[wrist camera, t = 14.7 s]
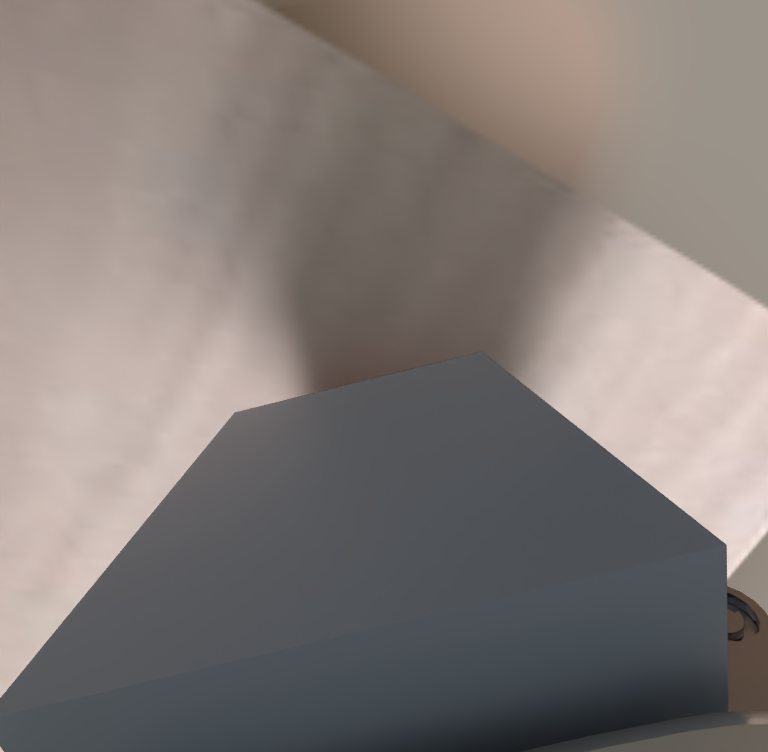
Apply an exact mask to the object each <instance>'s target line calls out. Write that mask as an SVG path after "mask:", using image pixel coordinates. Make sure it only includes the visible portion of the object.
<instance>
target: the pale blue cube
mask: <svg viewBox="0 0 768 752" xmlns="http://www.w3.org/2000/svg"><path fill="white" fill-rule="evenodd" d="M723 712H728V634H727V547H726V544H725V543H723V542H722V541H721V540H720V539H718V538H717V537H716V536H715V535H713V534H712V533H711V532H710V531H708V530H707V529H706V528H704V527H703V526H702V525H701V524H699V523H698V522H697V521H696V520H694V519H693V518H692V517H691V516H689V515H688V514H687V513H685V512H684V511H683V510H682V509H680V508H679V507H678V506H677V505H675V504H674V503H673V502H672V501H670V500H669V499H668V498H667V497H665V496H664V495H663V494H661V493H660V492H659V491H658V490H656V489H655V488H654V487H653V486H651V485H650V484H649V483H648V482H646V481H645V480H644V479H642V478H641V477H640V476H639V475H637V474H636V473H635V472H634V471H632V470H631V469H630V468H629V467H627V466H626V465H625V464H624V463H622V462H621V461H620V460H618V459H617V458H616V457H615V456H613V455H612V454H611V453H610V452H608V451H607V450H606V449H605V448H603V447H602V446H601V445H600V444H598V443H597V442H596V441H594V440H593V439H592V438H591V437H589V436H588V435H587V434H586V433H584V432H583V431H582V430H581V429H579V428H578V427H577V426H575V425H574V424H573V423H572V422H570V421H569V420H568V419H567V418H565V417H564V416H563V415H562V414H560V413H559V412H558V411H557V410H555V409H554V408H553V407H551V406H550V405H549V404H548V403H546V402H545V401H544V400H543V399H541V398H540V397H539V396H538V395H536V394H535V393H534V392H532V391H531V390H530V389H529V388H527V387H526V386H525V385H524V384H522V383H521V382H520V381H519V380H517V379H516V378H515V377H514V376H512V375H511V374H510V373H508V372H507V371H506V370H505V369H503V368H502V367H501V366H500V365H498V364H497V363H496V362H495V361H493V360H492V359H491V358H489V357H488V356H487V355H486V354H484V353H483V352H478V353H474V354H470V355H466V356H462V357H458V358H454V359H450V360H446V361H442V362H438V363H434V364H430V365H426V366H421V367H417V368H413V369H409V370H405V371H401V372H397V373H393V374H389V375H385V376H381V377H377V378H373V379H369V380H365V381H361V382H357V383H353V384H349V385H345V386H340V387H336V388H332V389H328V390H324V391H320V392H316V393H312V394H308V395H304V396H300V397H296V398H292V399H288V400H284V401H280V402H276V403H272V404H268V405H264V406H260V407H255V408H251V409H247V410H243V411H239V412H235V413H234V414H233V415H232V416H231V418H230V419H229V420H228V421H227V423H226V424H225V425H224V426H223V427H222V429H221V430H220V431H219V432H218V434H217V435H216V436H215V437H214V438H213V440H212V441H211V442H210V443H209V445H208V446H207V447H206V448H205V449H204V451H203V452H202V453H201V454H200V456H199V457H198V458H197V459H196V460H195V462H194V463H193V464H192V465H191V466H190V468H189V469H188V470H187V471H186V473H185V474H184V475H183V476H182V477H181V479H180V480H179V481H178V482H177V484H176V485H175V486H174V487H173V488H172V490H171V491H170V492H169V493H168V495H167V496H166V497H165V498H164V499H163V501H162V502H161V503H160V504H159V505H158V507H157V508H156V509H155V510H154V512H153V513H152V514H151V515H150V516H149V518H148V519H147V520H146V521H145V523H144V524H143V525H142V526H141V527H140V529H139V530H138V531H137V532H136V534H135V535H134V536H133V537H132V538H131V540H130V541H129V542H128V543H127V544H126V546H125V547H124V548H123V549H122V551H121V552H120V553H119V554H118V555H117V557H116V558H115V559H114V560H113V562H112V563H111V564H110V565H109V566H108V568H107V569H106V570H105V571H104V573H103V574H102V575H101V576H100V577H99V579H98V580H97V581H96V582H95V584H94V585H93V586H92V587H91V588H90V590H89V591H88V592H87V593H86V594H85V596H84V597H83V598H82V599H81V601H80V602H79V603H78V604H77V605H76V607H75V608H74V609H73V610H72V612H71V613H70V614H69V615H68V616H67V618H66V619H65V620H64V621H63V623H62V624H61V625H60V626H59V627H58V629H57V630H56V631H55V632H54V633H53V635H52V636H51V637H50V638H49V640H48V641H47V642H46V643H45V644H44V646H43V647H42V648H41V649H40V651H39V652H38V653H37V654H36V655H35V657H34V658H33V659H32V660H31V662H30V663H29V664H28V665H27V666H26V668H25V669H24V670H23V671H22V672H21V674H20V675H19V676H18V677H17V679H16V680H15V681H14V682H13V683H12V685H11V686H10V687H9V688H8V690H7V691H6V692H5V693H4V694H3V696H2V697H1V698H0V747H1V748H2V749H3V751H4V752H521V751H525V750H530V749H534V748H538V747H543V746H547V745H552V744H556V743H561V742H565V741H569V740H574V739H578V738H583V737H587V736H592V735H597V734H602V733H606V732H611V731H616V730H621V729H626V728H631V727H636V726H641V725H646V724H651V723H655V722H660V721H665V720H670V719H677V718H683V717H690V716H697V715H704V714H711V713H723Z"/></svg>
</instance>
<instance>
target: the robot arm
mask: <svg viewBox="0 0 768 752" xmlns="http://www.w3.org/2000/svg"><path fill="white" fill-rule="evenodd" d="M727 634H728V712H723V713H711V714H704V715H697V716H690V717H683V718H677V719H670V720H665V721H660V722H655V723H651V724H646V725H641V726H636V727H631V728H626V729H621V730H616V731H611V732H606V733H602V734H597V735H592V736H587V737H583V738H578V739H574V740H569V741H565V742H561V743H556V744H552V745H547V746H543V747H538V748H534V749H530V750H525V751H521V752H768V616H767V614H766V612H765V611H764V610H763V609H762V608H761V607H760V606H759V605H758V604H757V603H756V602H755V601H754V600H752V599H751V598H749V597H748V596H746V595H745V594H743V593H742V592H740V591H737V590H735V589H733V588H730V587H728V586H727Z"/></svg>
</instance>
